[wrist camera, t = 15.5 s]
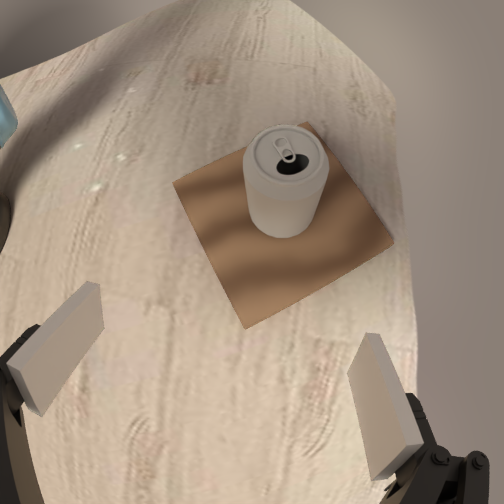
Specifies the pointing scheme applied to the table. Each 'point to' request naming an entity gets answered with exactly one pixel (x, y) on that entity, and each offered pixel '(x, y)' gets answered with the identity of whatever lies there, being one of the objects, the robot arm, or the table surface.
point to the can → (284, 179)
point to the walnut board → (278, 249)
